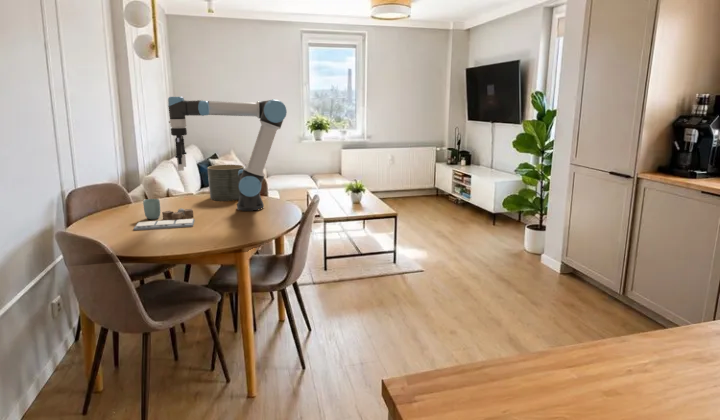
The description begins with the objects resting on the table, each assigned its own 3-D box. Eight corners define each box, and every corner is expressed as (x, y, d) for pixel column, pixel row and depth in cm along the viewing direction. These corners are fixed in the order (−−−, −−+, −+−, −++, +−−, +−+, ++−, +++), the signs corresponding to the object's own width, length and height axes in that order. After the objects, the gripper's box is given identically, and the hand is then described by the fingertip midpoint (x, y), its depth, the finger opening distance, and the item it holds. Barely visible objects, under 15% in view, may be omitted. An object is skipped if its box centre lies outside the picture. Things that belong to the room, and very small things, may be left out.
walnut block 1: (169, 217, 244) (169, 210, 243) (174, 218, 242) (173, 211, 241) (163, 219, 241) (162, 212, 240) (167, 220, 238) (166, 213, 237)
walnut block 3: (192, 215, 248) (191, 208, 247) (193, 217, 245) (192, 210, 244) (184, 216, 246) (183, 209, 245) (185, 218, 243) (185, 211, 242)
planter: (248, 194, 305) (246, 164, 300) (241, 201, 284) (239, 169, 279) (214, 194, 304) (212, 164, 299) (205, 201, 282) (203, 169, 278)
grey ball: (186, 214, 251) (185, 207, 250) (185, 216, 247) (184, 209, 246) (178, 214, 250) (177, 207, 249) (177, 216, 246) (176, 209, 245)
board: (194, 220, 238) (194, 218, 238) (192, 226, 227) (192, 224, 226) (138, 224, 231) (138, 221, 231) (133, 230, 220) (133, 228, 219)
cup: (155, 220, 237) (153, 202, 235) (141, 220, 239) (139, 201, 236) (164, 217, 245) (162, 199, 242) (151, 216, 246) (149, 198, 244)
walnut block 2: (183, 219, 240) (182, 212, 239) (179, 221, 237) (179, 214, 236) (176, 219, 241) (175, 212, 240) (172, 221, 237) (171, 213, 236)
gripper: (173, 126, 244) (177, 165, 249) (167, 129, 220) (171, 172, 225) (188, 126, 246) (191, 165, 251) (183, 128, 222) (187, 171, 227)
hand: (182, 168), depth 238 cm, fingers open, 13 cm apart
